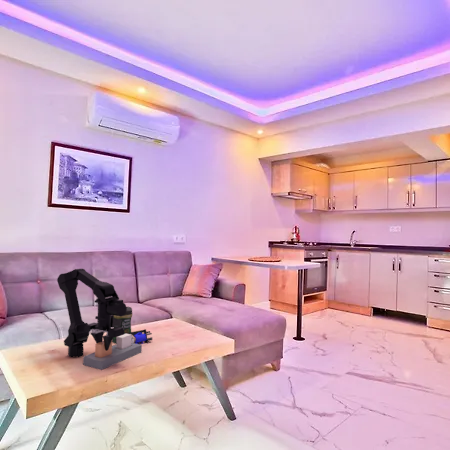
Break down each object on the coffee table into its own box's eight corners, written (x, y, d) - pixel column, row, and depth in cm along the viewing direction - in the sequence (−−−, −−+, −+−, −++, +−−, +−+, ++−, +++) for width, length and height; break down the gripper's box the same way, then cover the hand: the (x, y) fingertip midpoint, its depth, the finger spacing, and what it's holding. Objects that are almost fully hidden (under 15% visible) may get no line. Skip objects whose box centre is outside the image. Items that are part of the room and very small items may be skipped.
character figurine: (154, 344, 175) (126, 350, 165) (148, 340, 180) (121, 345, 171) (155, 329, 174) (127, 335, 165) (149, 325, 180) (121, 330, 171)
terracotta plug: (94, 363, 144) (95, 343, 144) (105, 359, 150) (106, 340, 150) (100, 365, 143) (101, 345, 143) (111, 360, 148) (112, 341, 148)
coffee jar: (117, 346, 170) (118, 309, 170) (109, 343, 175) (110, 307, 176) (134, 342, 177) (135, 307, 177) (126, 339, 182) (127, 304, 183)
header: (83, 367, 143) (83, 356, 143) (124, 350, 164) (124, 341, 165) (101, 372, 138) (101, 361, 138) (141, 354, 159) (141, 344, 159)
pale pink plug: (116, 355, 155) (116, 336, 155) (125, 351, 160) (125, 333, 160) (121, 356, 153) (122, 337, 153) (131, 352, 158) (131, 334, 159)
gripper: (133, 312, 149) (133, 347, 149) (103, 307, 158) (102, 341, 158) (114, 317, 140) (114, 355, 139) (83, 312, 148) (82, 348, 148)
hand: (103, 349), depth 146 cm, fingers closed on terracotta plug, 3 cm apart
